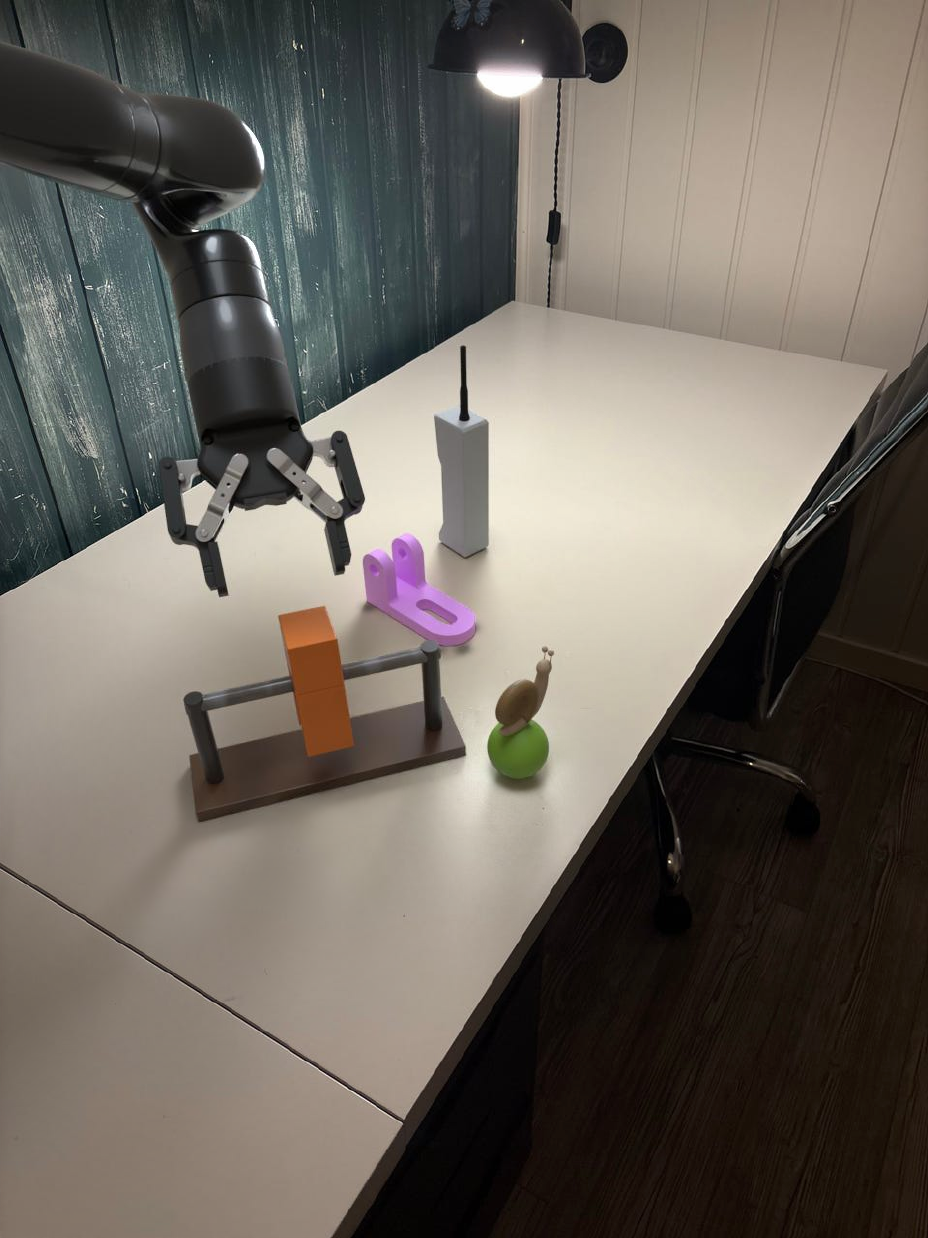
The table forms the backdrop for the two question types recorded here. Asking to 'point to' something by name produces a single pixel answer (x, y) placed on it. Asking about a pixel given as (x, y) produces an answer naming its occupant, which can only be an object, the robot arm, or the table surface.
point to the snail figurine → (521, 726)
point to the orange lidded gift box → (317, 680)
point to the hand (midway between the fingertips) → (283, 583)
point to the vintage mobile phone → (464, 473)
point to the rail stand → (287, 770)
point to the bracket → (414, 594)
